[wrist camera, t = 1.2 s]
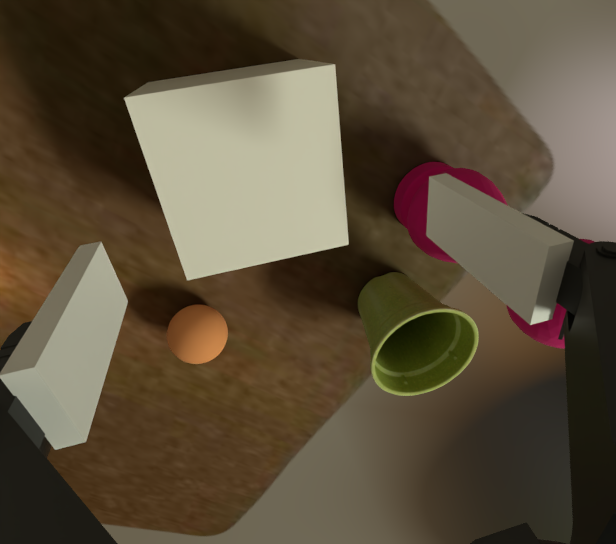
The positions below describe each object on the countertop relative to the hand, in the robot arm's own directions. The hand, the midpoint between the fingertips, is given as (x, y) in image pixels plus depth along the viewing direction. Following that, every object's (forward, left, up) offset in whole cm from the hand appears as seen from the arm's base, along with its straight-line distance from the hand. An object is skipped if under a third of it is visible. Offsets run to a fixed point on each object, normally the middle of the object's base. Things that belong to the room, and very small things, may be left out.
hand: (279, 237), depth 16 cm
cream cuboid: (0, 0, -16) cm, 16 cm away
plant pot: (+11, -17, -16) cm, 26 cm away
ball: (-7, -14, -13) cm, 20 cm away
